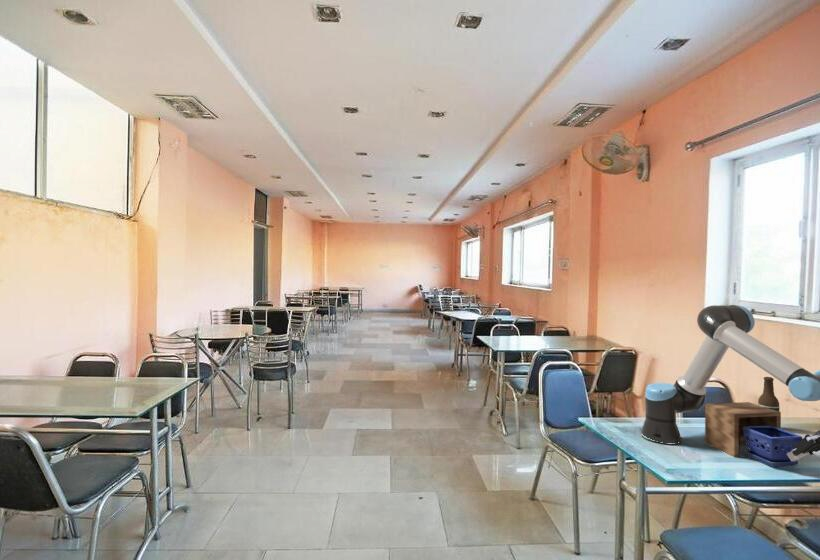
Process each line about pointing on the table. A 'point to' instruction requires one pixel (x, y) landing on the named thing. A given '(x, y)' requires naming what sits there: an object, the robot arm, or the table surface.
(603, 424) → the table surface
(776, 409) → the beer bottle
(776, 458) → the flower pot
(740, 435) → the shelf
